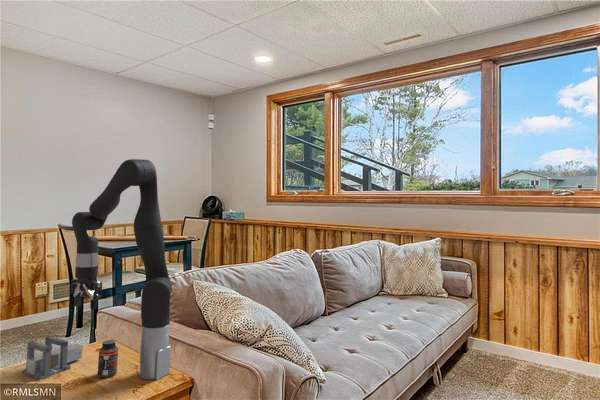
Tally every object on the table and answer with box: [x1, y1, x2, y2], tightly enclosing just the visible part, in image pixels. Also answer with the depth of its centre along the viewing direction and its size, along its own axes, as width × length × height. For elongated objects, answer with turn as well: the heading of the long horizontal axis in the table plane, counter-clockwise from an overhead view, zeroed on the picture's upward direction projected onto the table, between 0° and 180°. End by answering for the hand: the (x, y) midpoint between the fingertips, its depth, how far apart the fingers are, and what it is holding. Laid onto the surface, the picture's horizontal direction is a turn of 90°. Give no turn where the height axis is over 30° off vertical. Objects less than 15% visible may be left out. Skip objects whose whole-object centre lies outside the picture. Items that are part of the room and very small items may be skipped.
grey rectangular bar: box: [26, 343, 84, 375], centre depth 134 cm, size 4×17×5 cm, turn 156°
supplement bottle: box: [97, 339, 119, 379], centre depth 130 cm, size 6×6×11 cm
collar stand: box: [21, 335, 71, 381], centre depth 131 cm, size 10×10×10 cm
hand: (85, 307), depth 143 cm, fingers open, 8 cm apart
